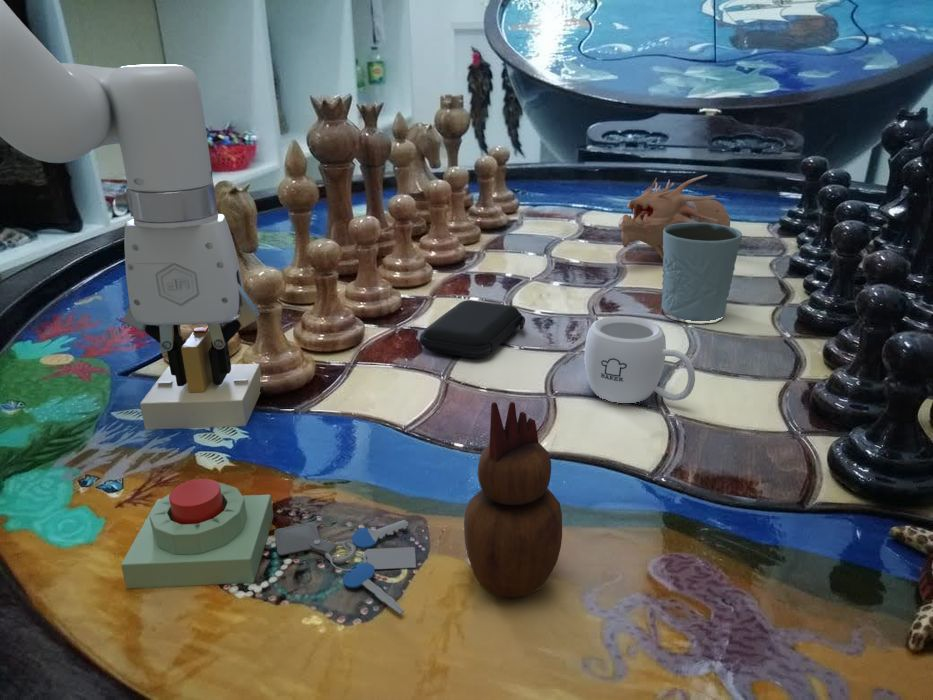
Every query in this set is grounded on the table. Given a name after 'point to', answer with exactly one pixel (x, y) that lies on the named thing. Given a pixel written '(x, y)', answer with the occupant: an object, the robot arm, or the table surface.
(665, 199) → the dragon head statue
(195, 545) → the box
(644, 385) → the mug
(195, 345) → the tan block
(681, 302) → the embossed teal cup
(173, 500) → the release button
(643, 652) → the table surface
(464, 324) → the carrying case
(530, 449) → the wooden figurine
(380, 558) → the key chain
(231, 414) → the plate
